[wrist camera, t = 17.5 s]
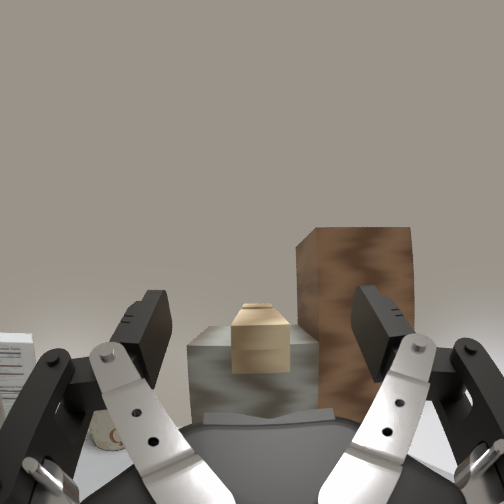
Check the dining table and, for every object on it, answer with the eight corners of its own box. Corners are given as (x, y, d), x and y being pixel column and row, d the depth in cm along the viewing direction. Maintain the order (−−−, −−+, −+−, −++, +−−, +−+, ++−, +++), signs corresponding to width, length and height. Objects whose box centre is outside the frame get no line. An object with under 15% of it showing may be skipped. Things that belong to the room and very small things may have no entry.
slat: (232, 373, 17) (230, 325, 18) (244, 325, 41) (244, 303, 42) (290, 372, 17) (289, 324, 18) (270, 324, 41) (269, 303, 42)
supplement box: (4, 415, 36) (-10, 331, 38) (45, 415, 42) (32, 332, 44) (3, 436, 29) (-17, 340, 31) (50, 435, 35) (34, 341, 37)
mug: (104, 459, 32) (92, 400, 33) (70, 429, 39) (61, 378, 40) (146, 445, 39) (138, 390, 40) (107, 420, 46) (100, 372, 47)
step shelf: (203, 510, 24) (184, 230, 28) (216, 454, 38) (207, 249, 42) (392, 492, 24) (410, 227, 28) (359, 444, 38) (364, 245, 41)
